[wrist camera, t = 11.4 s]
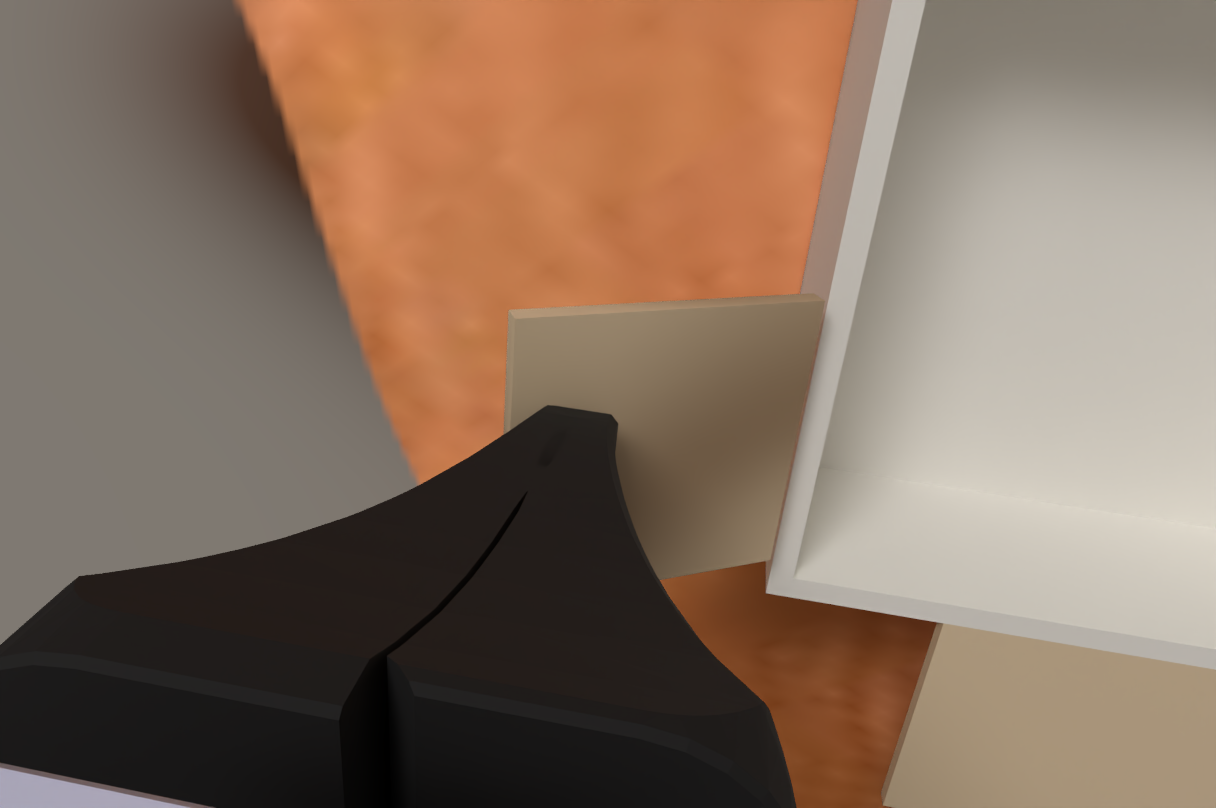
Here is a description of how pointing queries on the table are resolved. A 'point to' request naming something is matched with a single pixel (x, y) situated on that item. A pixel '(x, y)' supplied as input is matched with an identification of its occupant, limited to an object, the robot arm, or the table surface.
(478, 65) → the table surface
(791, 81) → the table surface
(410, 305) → the table surface
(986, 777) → the carton
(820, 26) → the table surface
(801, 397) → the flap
